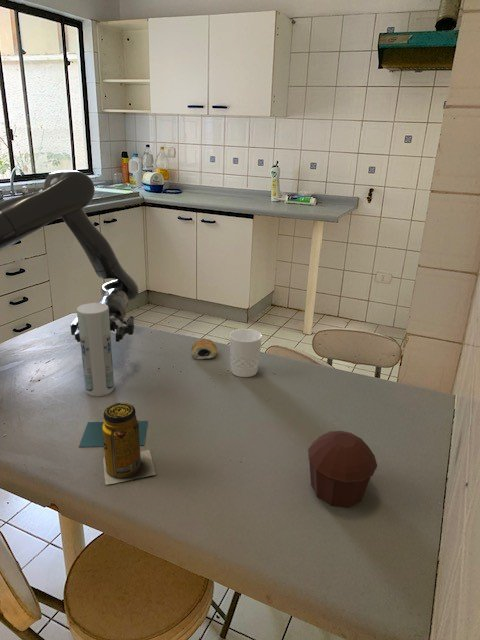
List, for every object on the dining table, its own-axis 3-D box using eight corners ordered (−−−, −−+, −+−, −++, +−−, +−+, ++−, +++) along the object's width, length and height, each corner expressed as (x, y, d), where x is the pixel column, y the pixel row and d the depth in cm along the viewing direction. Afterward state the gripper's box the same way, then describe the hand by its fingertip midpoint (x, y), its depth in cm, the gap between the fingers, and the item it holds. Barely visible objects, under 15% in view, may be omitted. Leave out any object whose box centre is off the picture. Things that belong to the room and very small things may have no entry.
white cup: (235, 361, 121) (237, 326, 118) (264, 367, 119) (266, 332, 115) (223, 374, 115) (224, 337, 111) (253, 381, 112) (255, 344, 108)
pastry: (192, 344, 130) (192, 332, 128) (216, 345, 130) (217, 332, 129) (191, 360, 121) (191, 347, 120) (217, 360, 122) (217, 347, 120)
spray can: (84, 384, 108) (76, 303, 100) (113, 380, 110) (107, 301, 102) (85, 398, 102) (76, 314, 95) (115, 394, 104) (109, 312, 97)
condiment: (102, 458, 84) (97, 402, 80) (149, 450, 87) (147, 395, 82) (105, 486, 78) (100, 426, 73) (156, 476, 80) (153, 417, 76)
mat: (78, 447, 87) (78, 446, 87) (87, 422, 94) (87, 421, 94) (143, 445, 88) (143, 445, 88) (147, 421, 95) (147, 420, 95)
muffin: (304, 462, 85) (309, 416, 81) (365, 468, 84) (373, 422, 80) (305, 511, 74) (311, 460, 70) (376, 518, 73) (385, 467, 70)
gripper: (80, 298, 117) (63, 322, 102) (137, 298, 118) (129, 322, 103) (82, 325, 120) (67, 353, 105) (138, 325, 121) (131, 353, 106)
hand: (98, 338), depth 104 cm, fingers open, 8 cm apart
